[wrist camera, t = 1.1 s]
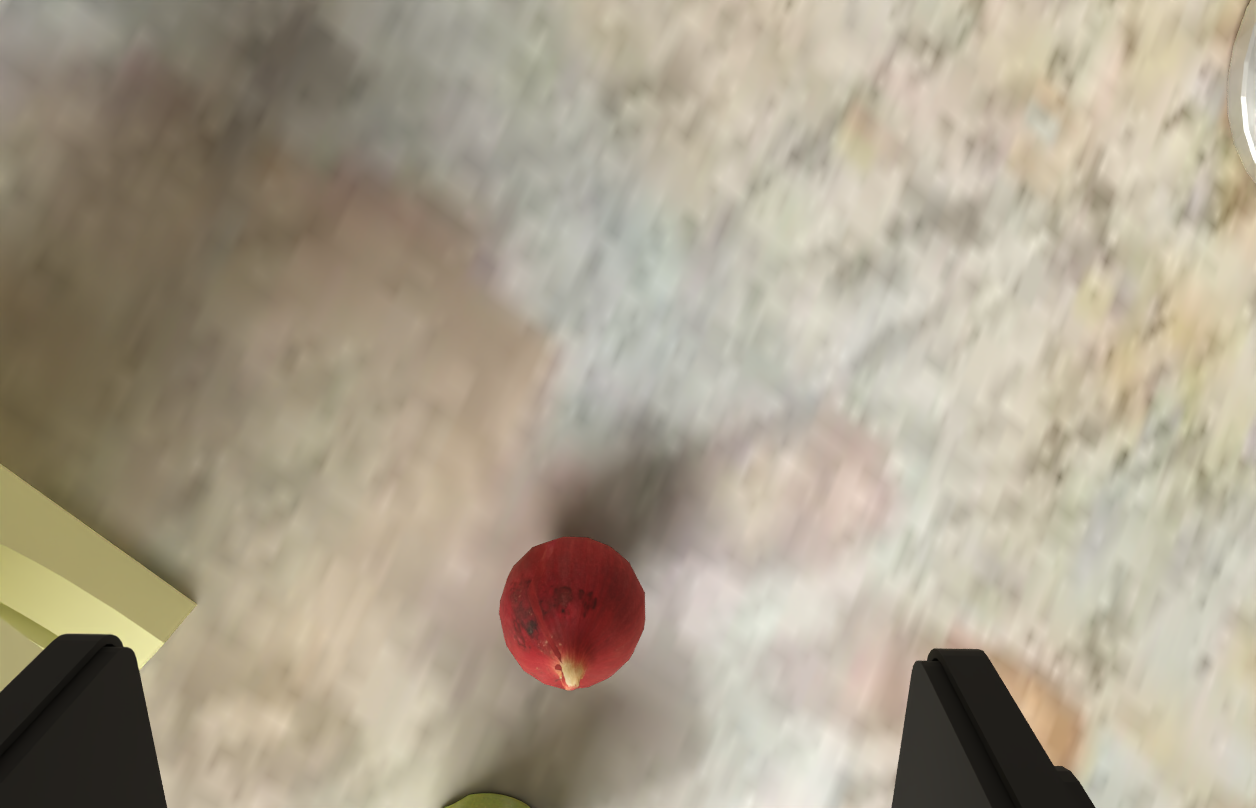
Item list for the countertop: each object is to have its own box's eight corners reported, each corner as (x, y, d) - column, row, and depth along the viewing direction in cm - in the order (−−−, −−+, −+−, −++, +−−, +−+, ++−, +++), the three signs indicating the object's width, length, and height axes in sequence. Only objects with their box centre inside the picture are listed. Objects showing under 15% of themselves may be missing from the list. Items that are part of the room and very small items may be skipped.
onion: (484, 568, 40) (453, 682, 32) (569, 479, 38) (557, 577, 31) (583, 642, 41) (576, 768, 34) (669, 559, 40) (682, 671, 32)
